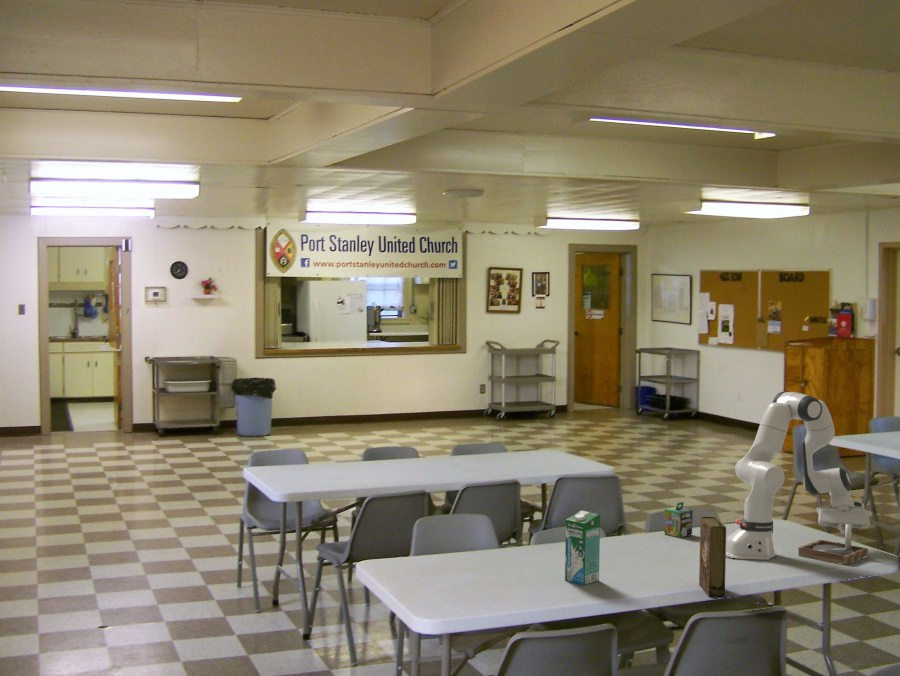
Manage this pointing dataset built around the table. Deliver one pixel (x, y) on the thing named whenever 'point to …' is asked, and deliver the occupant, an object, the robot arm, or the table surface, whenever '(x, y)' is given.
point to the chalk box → (678, 521)
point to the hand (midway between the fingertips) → (845, 534)
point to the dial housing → (832, 557)
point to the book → (712, 556)
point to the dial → (836, 548)
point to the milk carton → (582, 547)
